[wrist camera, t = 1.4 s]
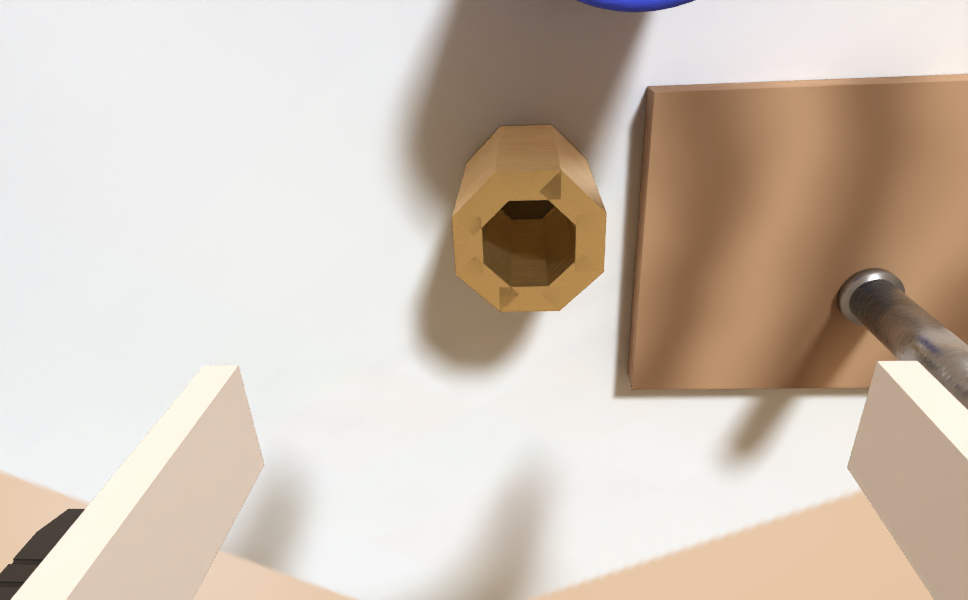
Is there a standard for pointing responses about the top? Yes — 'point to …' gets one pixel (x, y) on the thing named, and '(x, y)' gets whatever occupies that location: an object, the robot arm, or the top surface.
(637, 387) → the board
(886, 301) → the post
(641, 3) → the mug
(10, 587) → the robot arm
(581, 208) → the bushing
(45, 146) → the top surface
